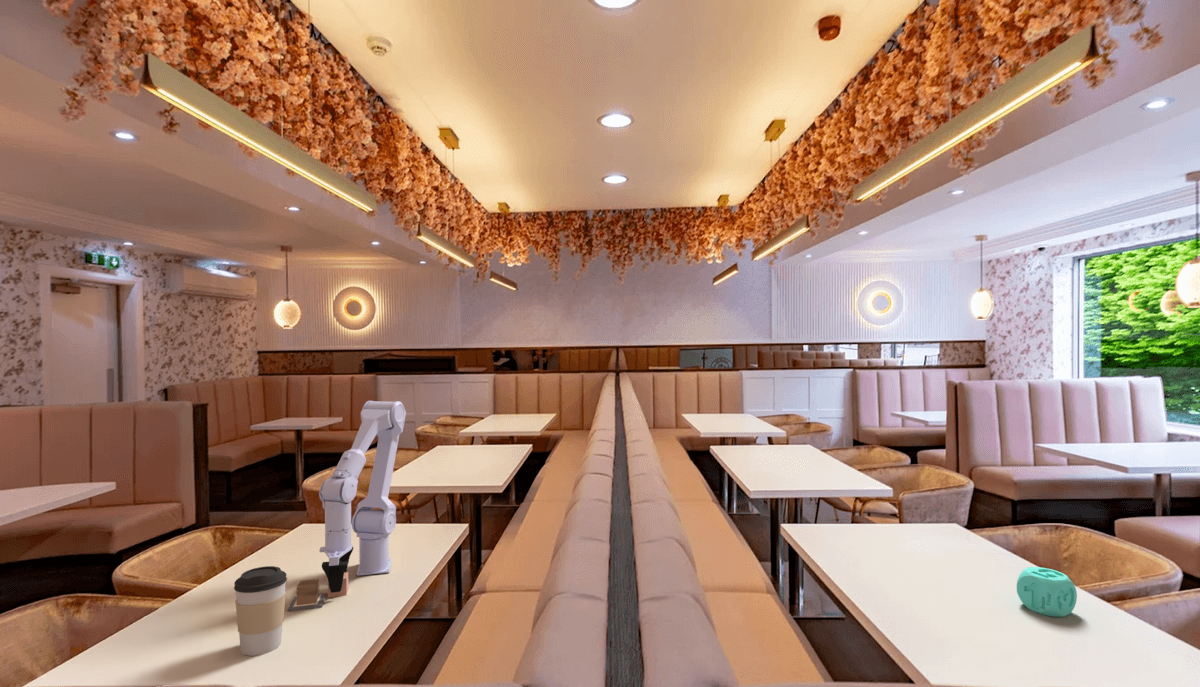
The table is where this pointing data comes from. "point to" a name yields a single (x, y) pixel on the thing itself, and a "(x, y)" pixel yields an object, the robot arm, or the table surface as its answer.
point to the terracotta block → (343, 589)
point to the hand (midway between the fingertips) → (338, 585)
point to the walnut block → (307, 591)
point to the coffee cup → (260, 609)
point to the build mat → (318, 604)
